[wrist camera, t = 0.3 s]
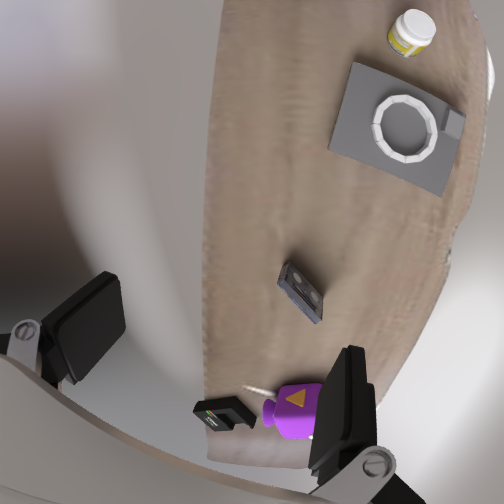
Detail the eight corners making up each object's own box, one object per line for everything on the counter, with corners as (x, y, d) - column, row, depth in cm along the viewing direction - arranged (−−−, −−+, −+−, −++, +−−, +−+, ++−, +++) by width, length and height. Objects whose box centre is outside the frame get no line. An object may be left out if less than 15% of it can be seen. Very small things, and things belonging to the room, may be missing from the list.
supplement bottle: (417, 33, 23) (436, 12, 16) (419, 61, 25) (441, 45, 18) (384, 25, 24) (398, 2, 17) (387, 54, 26) (402, 35, 19)
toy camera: (259, 385, 55) (247, 422, 46) (319, 373, 50) (314, 414, 41) (280, 412, 58) (272, 446, 49) (335, 402, 52) (332, 440, 44)
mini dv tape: (282, 266, 42) (275, 286, 37) (289, 260, 42) (284, 280, 36) (315, 302, 44) (313, 325, 38) (323, 297, 43) (322, 320, 38)
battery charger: (218, 420, 66) (214, 431, 63) (197, 400, 64) (191, 412, 61) (257, 416, 61) (253, 428, 58) (236, 395, 59) (231, 407, 55)
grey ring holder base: (350, 67, 28) (354, 58, 24) (455, 115, 27) (471, 114, 22) (327, 148, 34) (328, 150, 29) (432, 191, 32) (445, 200, 28)
